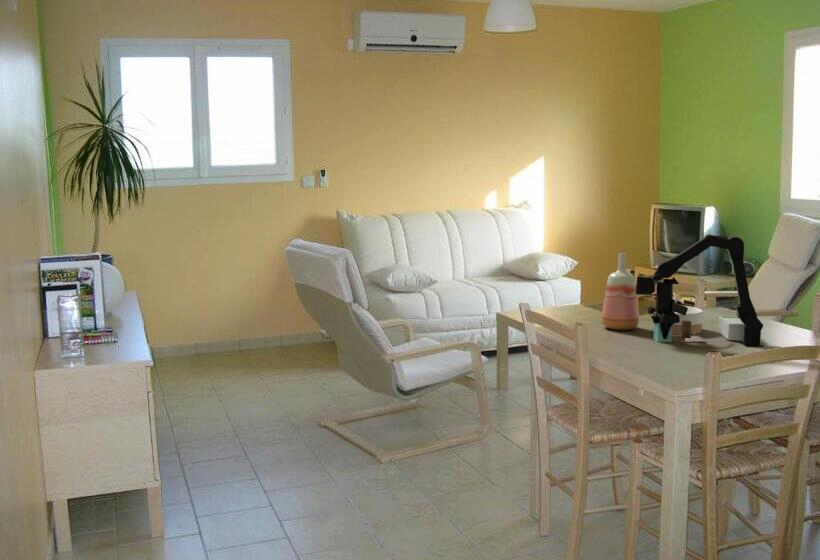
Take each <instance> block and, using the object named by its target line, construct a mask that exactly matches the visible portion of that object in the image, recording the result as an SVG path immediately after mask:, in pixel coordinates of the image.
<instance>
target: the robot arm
mask: <svg viewBox="0 0 820 560" xmlns="http://www.w3.org/2000/svg"><path fill="white" fill-rule="evenodd" d="M710 247H715V248H720V249H725V250H726V251H727V254H728V257H729V258H730V260H731V261H730V262H731V265H732V269H733V274H734V281H735V287H736V290H737V297H738V304H737V303H735V304H734V308H735V311H736V313H735V315H736V316H735V317H738V318H739V319H740V320H741V322H742V323H744V325H745V327H744V341H739V343H740V344H742V345H743V346H746V347H764V346H765V344H763V343H761V341H762V340H761V338H762V337H761V336H762V329H763V328H764V324H763V323H762V322H761V320H760V319H759V318H758V314H757V312H756V309H755V306H754V304H753V302H752V300H751V295H750V289H749V286H748V285H749V284H748V280H747V279H748V278H747V274H746V268H745V264H744V258H745V242H744V241H743V239H742V238H741V237H740V236H738V235H730V236H723V235H715V234H714V235H713V234H711V233H710V234H706V235H705V236H703V238H701V239H699V240H698V241H696V242H695V243H694V244H692V245H690V246H689V247H687V248H686V249H684V250H683V251H681V252H680V253H678V254H676V255H674V256H672V257H668V258H667V259H666V258H665V259H663V260H662V261H660V262H659V263H658V264H657V268H656V269H657V270H656V271H655V272H654V273H653V274H652V276H642V275H637V276H636V283H635V284H636V295H638V296H639V295H640V296H641V295H643V296H651V295H652V294H654V293H655V290H656V294H655V295H656V296H655V297H654V301H655V305H650V306H649V307H648V309H647V314H649V315H650V318H651V320H652V322H653V324H654V323H659V326H660V329H661V332H662V336H663V339H667V336H668V333H669V331H670V328H671V326H672V325H673V324H674V323H679V322H680V317H679V316H678V315H677V314H675V312H677V313H680V314H682V315H684V316H685V315H686V313H687V310H688V308H687V307H685V306H686V305H683V304H682V301H680V300H678V299H677V300H675V299H674V298H673V293H674V292H673V290H674V285H679V284H680V283H679V280H677V279H676V277H675V276H674V275H675V273H677V272H678V271H679V270H680V269H681V267H682V266H683V265H684V264H687V262H690V260H692V259H694V258H695V257H697V256H698V255H700V254H701V253H703V252H705V251H706V250H707V249H709V248H710ZM672 276H673V277H672ZM671 277H672V278H671Z"/></svg>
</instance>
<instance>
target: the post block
mask: <svg viewBox="0 0 820 560" xmlns="http://www.w3.org/2000/svg"><path fill="white" fill-rule="evenodd" d="M693 336H700V335H699V334H693ZM685 338H691V321H689V320H682V330H681V335H677V334H672V342H671V343H683V342H682V341H685ZM704 340H706V339H705V338H704Z"/></svg>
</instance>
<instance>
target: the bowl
mask: <svg viewBox="0 0 820 560" xmlns="http://www.w3.org/2000/svg"><path fill="white" fill-rule="evenodd" d="M684 306H685V307H687V308H688V310H687V313H686V315H685V316H684V315H682V314H680V313H677V312H675V314H677V315H678V316H679V317H680V322H679V323H674V324H673V325H672V335H681V330H682V320H689V321H691V334H693V335H695V334H694V333H699V334H701V333H702V327H703V313H704V312H703V309H701V308H698V307H694V306H688V305H684ZM700 332H701V333H700Z"/></svg>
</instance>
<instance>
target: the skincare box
mask: <svg viewBox="0 0 820 560" xmlns="http://www.w3.org/2000/svg"><path fill="white" fill-rule="evenodd" d="M744 327H745V325H744V323H742V322H741V320H740V319H739V318H738V317H737V316H729V315H726V316H724V315H720V316H719V318H718V330H717V331H718V333H719V334H721V335H722V336H723V337H724V338H725V339H726V340H727V339H728V341H737V342H740V341H744Z"/></svg>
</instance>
